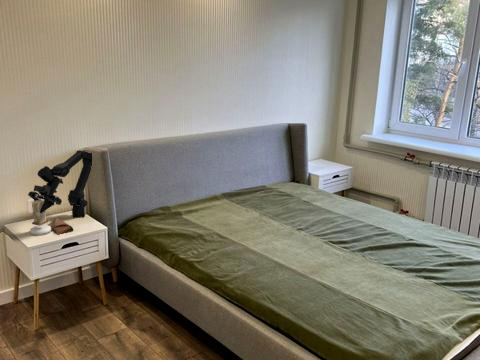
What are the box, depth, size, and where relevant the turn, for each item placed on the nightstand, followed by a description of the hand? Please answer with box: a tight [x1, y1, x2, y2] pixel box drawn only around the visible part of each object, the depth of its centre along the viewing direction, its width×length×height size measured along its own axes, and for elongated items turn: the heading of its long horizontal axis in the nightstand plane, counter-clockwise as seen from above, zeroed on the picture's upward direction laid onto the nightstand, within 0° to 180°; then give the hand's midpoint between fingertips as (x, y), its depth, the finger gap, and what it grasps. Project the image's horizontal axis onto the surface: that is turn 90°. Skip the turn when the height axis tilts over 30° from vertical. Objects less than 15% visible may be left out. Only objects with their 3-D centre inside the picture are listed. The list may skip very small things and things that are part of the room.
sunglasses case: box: [47, 217, 74, 236], centre depth 249 cm, size 18×7×7 cm, turn 46°
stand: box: [29, 224, 52, 236], centre depth 244 cm, size 10×10×2 cm
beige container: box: [31, 199, 49, 226], centre depth 241 cm, size 5×6×12 cm
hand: (37, 212), depth 240 cm, fingers closed on beige container, 4 cm apart
